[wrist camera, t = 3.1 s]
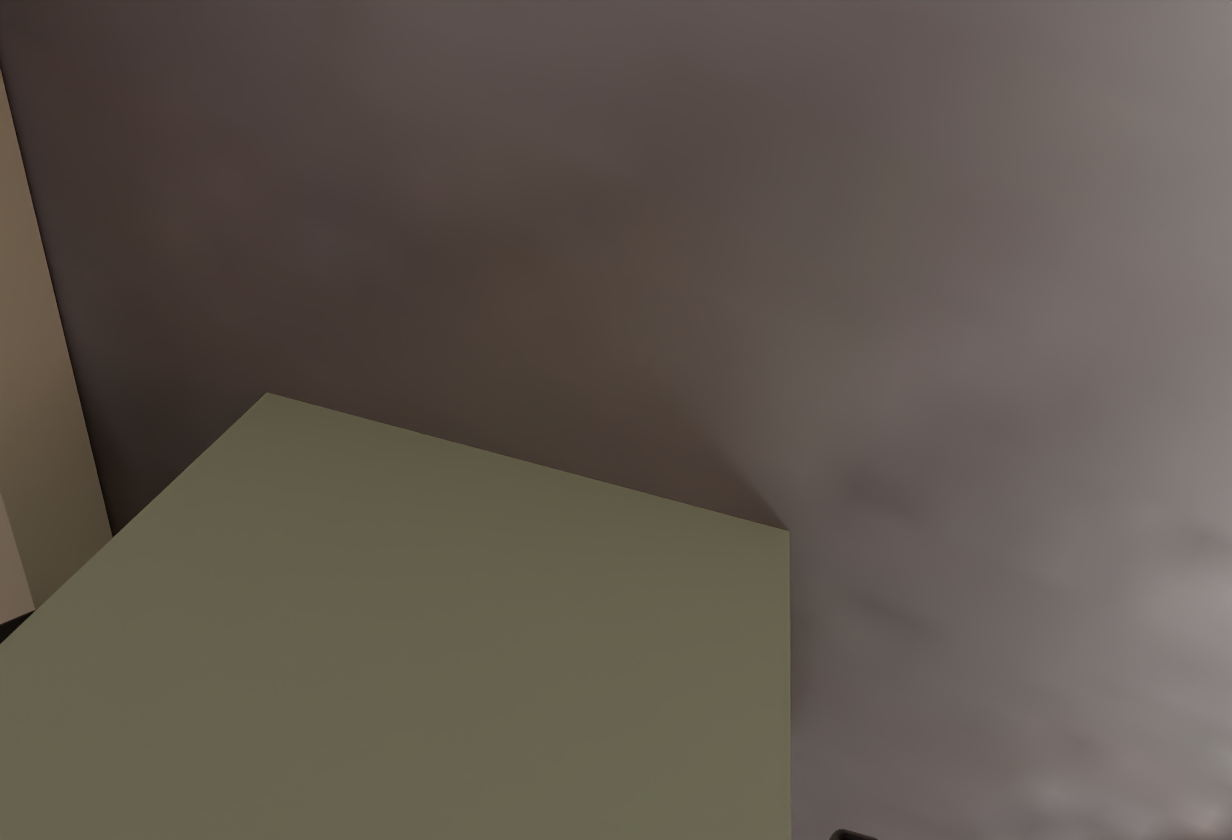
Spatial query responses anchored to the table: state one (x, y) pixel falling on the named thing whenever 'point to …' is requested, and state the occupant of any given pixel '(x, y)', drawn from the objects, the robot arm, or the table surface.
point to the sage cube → (403, 655)
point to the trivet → (37, 414)
